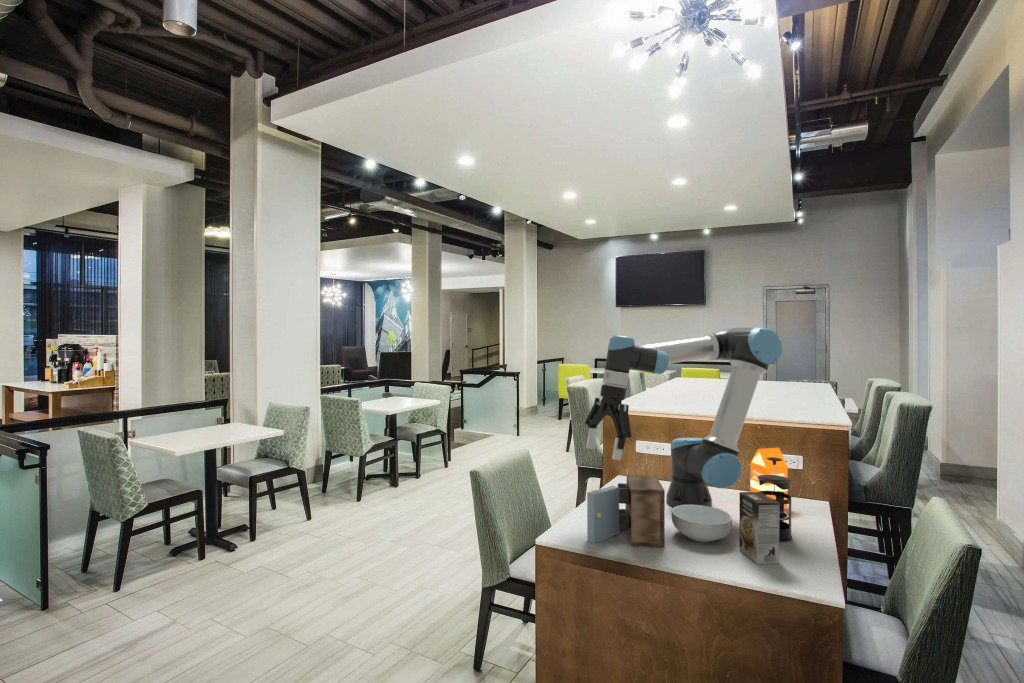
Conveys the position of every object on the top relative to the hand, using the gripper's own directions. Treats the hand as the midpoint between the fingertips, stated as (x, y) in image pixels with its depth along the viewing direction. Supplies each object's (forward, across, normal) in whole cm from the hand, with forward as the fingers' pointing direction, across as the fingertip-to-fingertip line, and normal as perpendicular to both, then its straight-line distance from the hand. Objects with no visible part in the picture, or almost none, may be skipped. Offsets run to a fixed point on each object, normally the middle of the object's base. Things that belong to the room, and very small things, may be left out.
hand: (602, 454), depth 158 cm
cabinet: (+21, +10, +10) cm, 26 cm away
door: (+23, +7, 0) cm, 24 cm away
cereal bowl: (+18, +19, +26) cm, 37 cm away
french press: (+14, +28, +46) cm, 55 cm away
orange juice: (+11, +10, +67) cm, 68 cm away
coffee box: (+17, +36, +29) cm, 49 cm away
